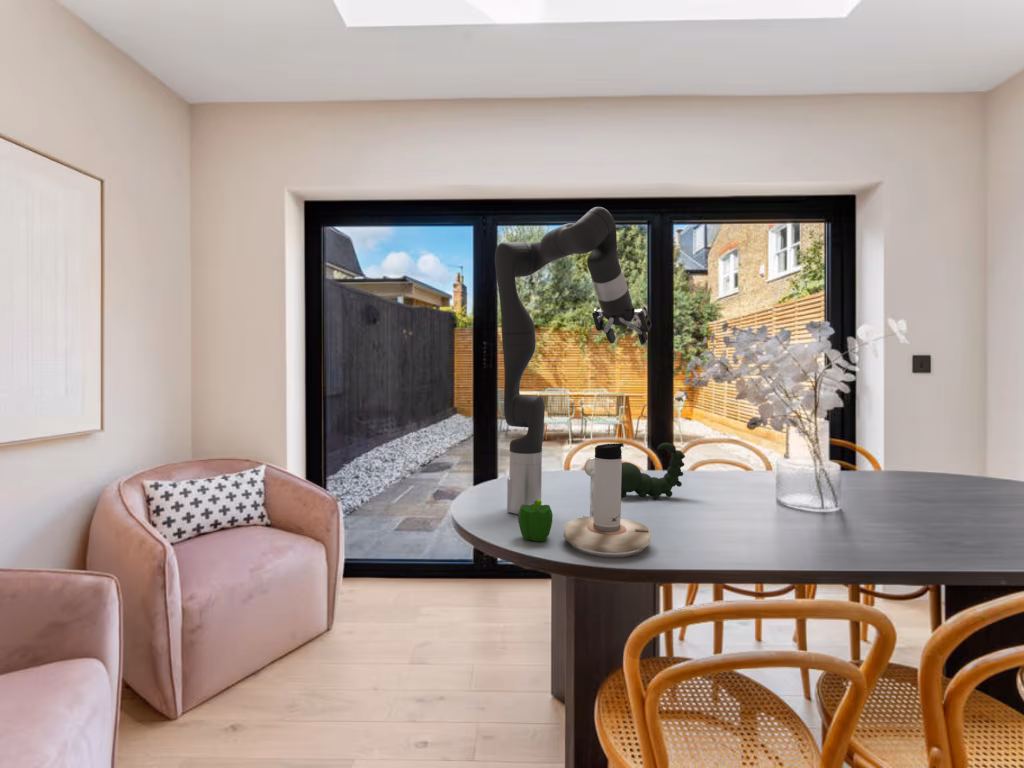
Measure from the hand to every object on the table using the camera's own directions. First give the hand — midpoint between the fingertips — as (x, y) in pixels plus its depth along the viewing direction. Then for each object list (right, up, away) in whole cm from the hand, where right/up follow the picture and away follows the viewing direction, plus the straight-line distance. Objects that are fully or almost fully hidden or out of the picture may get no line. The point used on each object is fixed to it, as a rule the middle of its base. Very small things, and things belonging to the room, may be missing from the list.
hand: (628, 342), depth 138 cm
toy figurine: (+12, -47, +33) cm, 59 cm away
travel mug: (-8, -45, -12) cm, 47 cm away
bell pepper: (-24, -48, -8) cm, 55 cm away
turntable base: (-8, -48, -12) cm, 51 cm away
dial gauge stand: (-9, -48, +2) cm, 49 cm away
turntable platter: (-8, -47, -12) cm, 49 cm away
